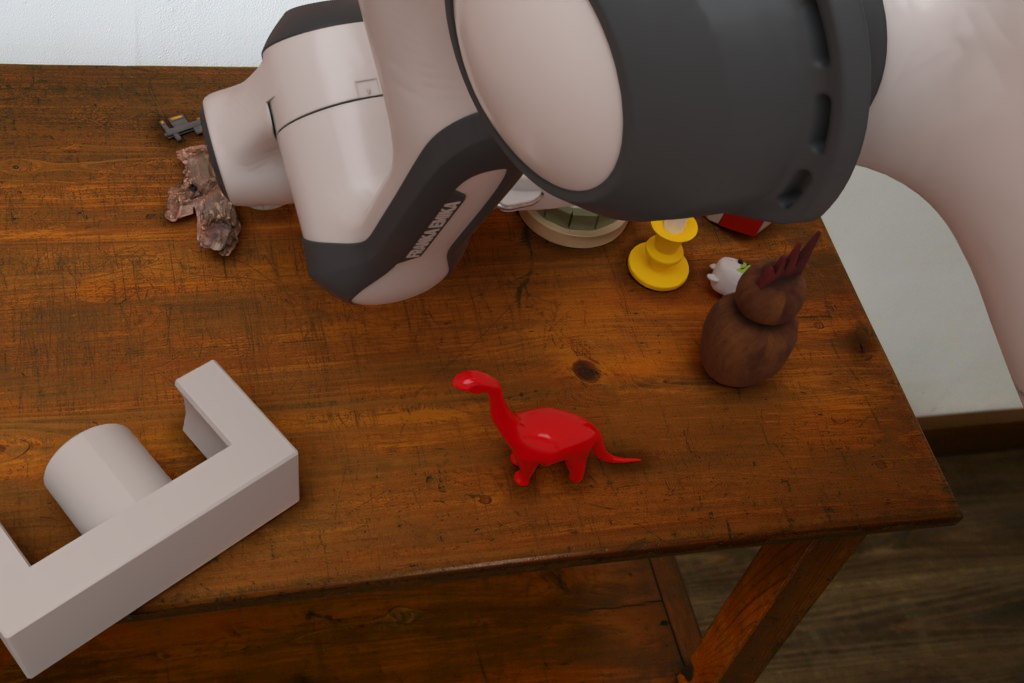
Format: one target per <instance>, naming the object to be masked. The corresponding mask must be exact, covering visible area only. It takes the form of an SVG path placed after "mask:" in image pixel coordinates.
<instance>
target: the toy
mask: <svg viewBox="0 0 1024 683" xmlns="http://www.w3.org/2000/svg"><path fill="white" fill-rule="evenodd" d="M750 266H751V264H749V263H746V262H745V261H743V260H742V259H737V258H734V257H729V256H724V257H721V258H720V259H719V260H718V261H717V262H716V263H711V264H710V265H709V268H710V269H711V270H712V272H711V273H708V274H706V278H707V279H708V280H709V281H710V286H711V288H712V289H713V290H714V291H715V292H716V293H718V294H719V295H722V296H724V295H727V294H730V293H734V292H735V291H736V287H737V283H738V281H739V279H740V277H741V275H742V274H743V273H744V272H745V271H746V270H747V269H748V268H749V267H750ZM860 346H861V347H862V349H863V354H866V352H867V350H866V347H865V346H864V344H863V343H860ZM872 358H873V355H872V354H871V355H870V356H868V357H866V358H864V361H869V360H871V359H872Z"/></svg>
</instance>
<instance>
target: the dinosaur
mask: <svg viewBox="0 0 1024 683" xmlns="http://www.w3.org/2000/svg"><path fill="white" fill-rule="evenodd" d="M451 384H452V386H453V387H454V388H455V389H456V390H459V391H461V392H466V393H468V392H469V393H470V394H473V395H478V394H486V395H487V398H488V408H489V410H488V411H489V416H490V419H491V421H492V423H493V425H494V427H495V428H496V429H497V431H498V432H499V434H500V435H501V437H502V439H503V440H504V442H505V443H506V444H507V446H508V447H509V448H510V450H511V453H510V454H509V459H510V461H511V463H512V464H513V465H515V466H518V468H519V470H517V471H516V472H514V475H513V479H514V482H515V483H516V484H517V485H518V486H520V487H526V486H529V484H530V481H531V477H533V475H534V473H535V472H536V471H537V468H538V466H539V464H540V465H541V466H543V467H549V466H552V465H554V464H557V463H561V462H564V464H565V466H566V468H567V470H568V478H569V480H570V481H571V482H573V483H579V482H581V481H582V480H583V479H584V477H585V472H586V467H587V462H588V457H589V456H590V454H591V451H592V453H593V455H594V456H595V457H596V458H597V459H598V460H600V461H602V462H604V463H610V464H626V463H627V464H628V463H635V462H641V461H642V459H641V458H632V457H622V456H617V455H613V454H612V453H610V452H609V451H608V449H607V447H606V443H605V441H604V437H603V434H602V432H601V431H600V429H599V428H598V427H597V426H596V425H595V424H594V423H592V421H590V420H589V419H587V418H585V417H583V416H582V415H580V414H577V413H574V412H572V411H569V410H566V409H565V410H564V409H560V408H557V407H554V406H553V407H552V406H540V407H535V408H530V409H527V410H523V411H515V410H513V409H512V408H510V406H509V405H508V403H507V401H506V398H505V396H504V390H503V387H502V385H501V383H500V381H499V380H498V379H496V378H495V377H494V376H493V375H491V374H489V373H487V372H484V371H480V370H475V369H473V370H469V369H468V370H462V371H460V372H458V373H457V374H456V375H455V376H454V377H453V379H452V381H451Z"/></svg>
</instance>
